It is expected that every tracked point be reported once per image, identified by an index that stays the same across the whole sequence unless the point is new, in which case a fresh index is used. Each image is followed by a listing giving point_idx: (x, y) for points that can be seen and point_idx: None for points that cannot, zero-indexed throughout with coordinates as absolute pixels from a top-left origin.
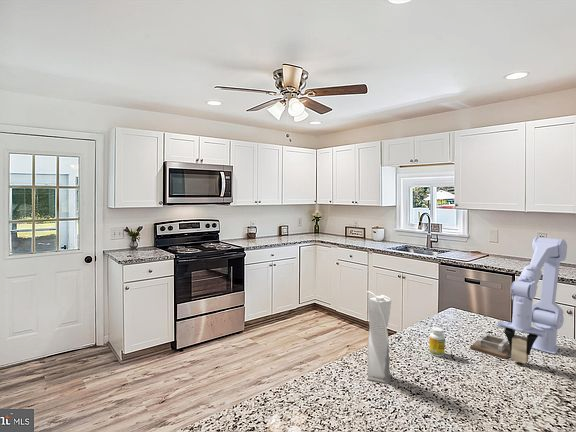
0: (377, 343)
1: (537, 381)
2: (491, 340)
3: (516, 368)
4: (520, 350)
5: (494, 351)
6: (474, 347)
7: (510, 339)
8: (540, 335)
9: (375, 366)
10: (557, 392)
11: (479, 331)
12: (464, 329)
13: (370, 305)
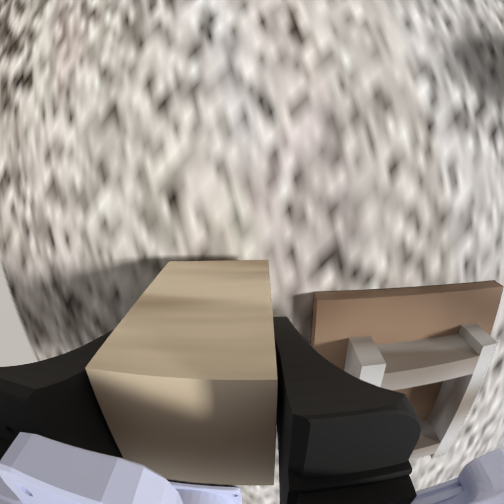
0: None
1: (79, 100)
2: None
3: (214, 188)
4: (184, 301)
5: (389, 328)
6: (487, 289)
7: (300, 367)
8: None
9: None
10: (10, 71)
11: (435, 478)
12: (484, 450)
13: None
